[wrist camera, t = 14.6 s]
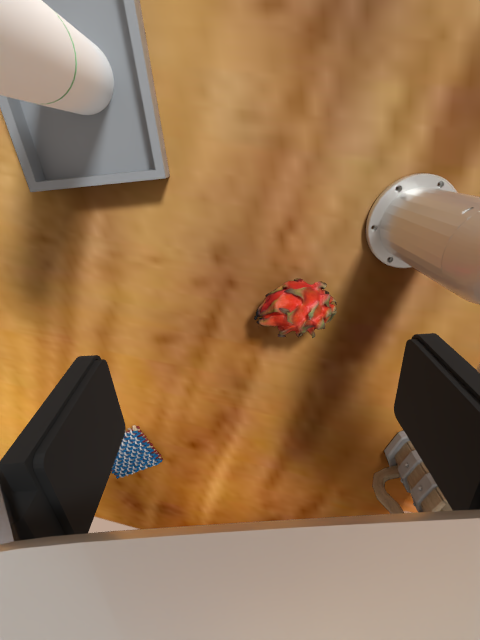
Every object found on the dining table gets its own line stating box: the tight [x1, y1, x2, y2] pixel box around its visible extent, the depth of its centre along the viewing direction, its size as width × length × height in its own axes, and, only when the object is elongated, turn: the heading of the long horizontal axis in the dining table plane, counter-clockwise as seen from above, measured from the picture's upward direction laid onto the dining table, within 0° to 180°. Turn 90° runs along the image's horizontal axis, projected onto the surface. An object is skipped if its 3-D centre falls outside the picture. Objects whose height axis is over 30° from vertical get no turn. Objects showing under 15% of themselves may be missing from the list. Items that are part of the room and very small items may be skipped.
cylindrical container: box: [0, 0, 114, 115], centre depth 26 cm, size 7×7×25 cm
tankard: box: [372, 431, 453, 514], centre depth 62 cm, size 20×13×15 cm, turn 115°
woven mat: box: [111, 425, 163, 479], centre depth 64 cm, size 10×11×2 cm
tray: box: [0, 0, 170, 192], centre depth 36 cm, size 16×22×4 cm
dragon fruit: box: [254, 279, 337, 338], centre depth 48 cm, size 8×8×12 cm
